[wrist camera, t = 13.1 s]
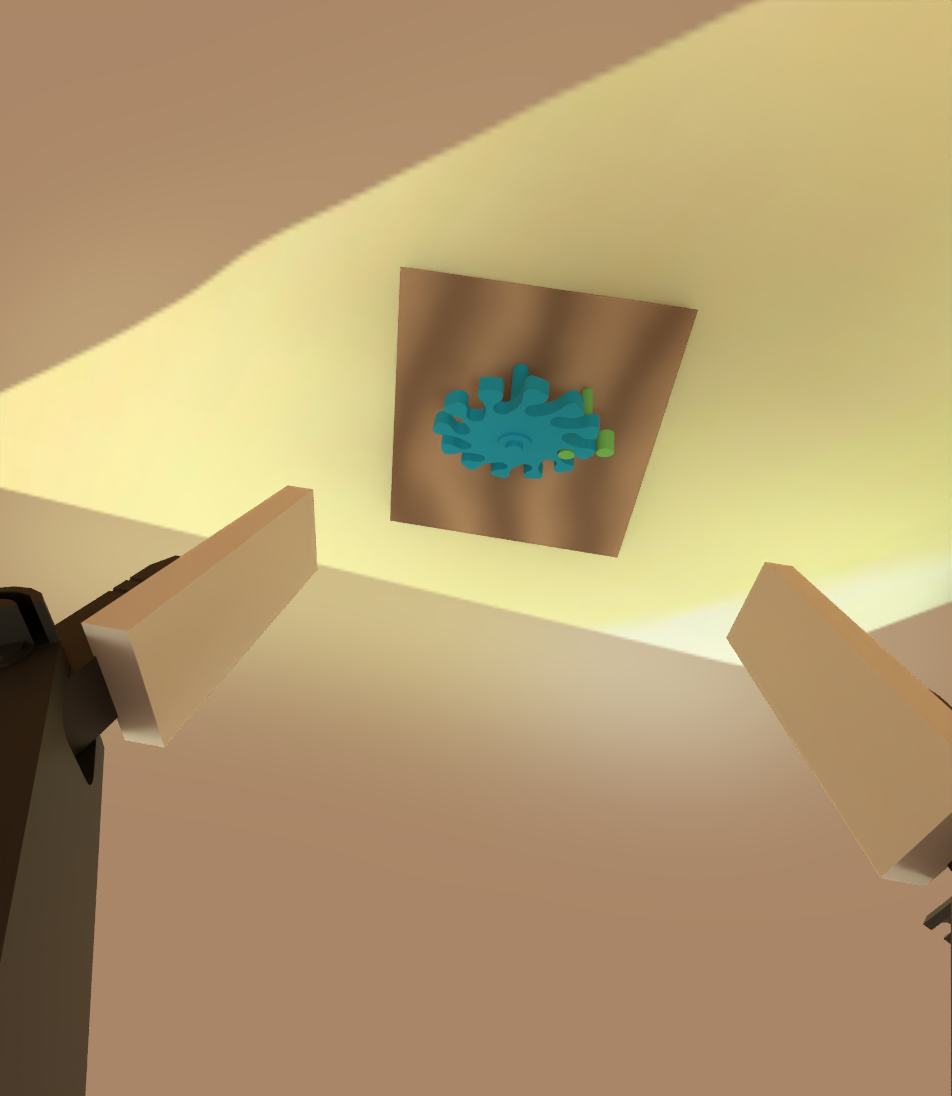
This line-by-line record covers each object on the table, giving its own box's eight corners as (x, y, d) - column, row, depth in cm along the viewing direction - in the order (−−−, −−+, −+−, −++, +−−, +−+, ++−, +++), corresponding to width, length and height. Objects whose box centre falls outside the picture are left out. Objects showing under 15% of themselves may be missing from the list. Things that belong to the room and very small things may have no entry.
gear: (427, 473, 30) (437, 382, 21) (438, 401, 32) (451, 286, 22) (578, 498, 31) (653, 422, 22) (581, 427, 33) (651, 329, 24)
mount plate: (689, 310, 27) (698, 309, 26) (613, 548, 35) (617, 557, 34) (406, 269, 27) (400, 266, 26) (395, 513, 35) (390, 520, 34)
